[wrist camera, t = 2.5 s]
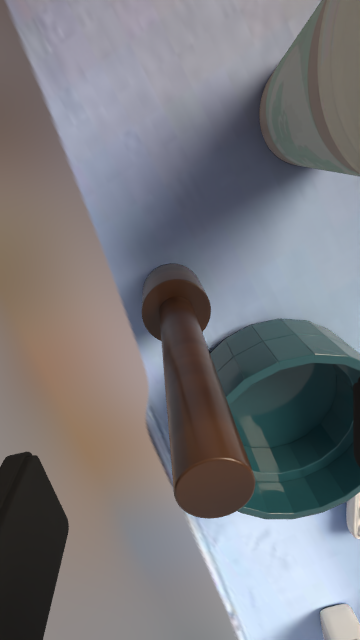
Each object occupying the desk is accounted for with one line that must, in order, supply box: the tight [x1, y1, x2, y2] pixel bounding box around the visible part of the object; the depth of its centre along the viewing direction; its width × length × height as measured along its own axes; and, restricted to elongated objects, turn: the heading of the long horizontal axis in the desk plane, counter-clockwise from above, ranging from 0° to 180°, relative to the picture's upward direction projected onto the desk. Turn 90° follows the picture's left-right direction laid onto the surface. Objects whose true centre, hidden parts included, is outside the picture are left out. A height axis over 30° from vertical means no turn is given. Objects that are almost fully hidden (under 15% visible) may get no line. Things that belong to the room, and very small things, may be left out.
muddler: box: [142, 264, 255, 518], centre depth 15 cm, size 4×4×16 cm
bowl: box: [210, 319, 360, 519], centre depth 24 cm, size 13×13×6 cm
